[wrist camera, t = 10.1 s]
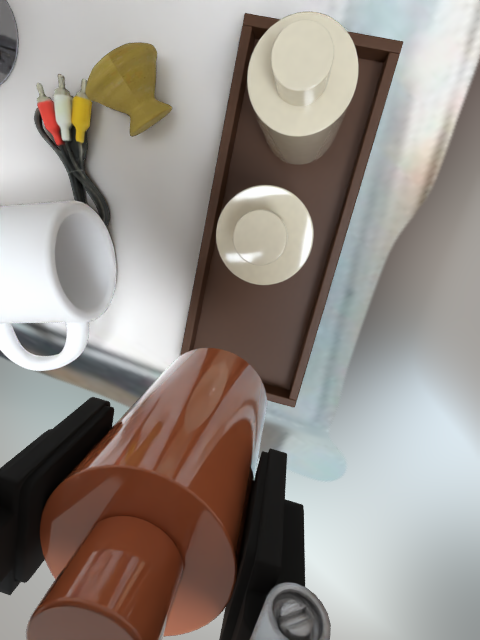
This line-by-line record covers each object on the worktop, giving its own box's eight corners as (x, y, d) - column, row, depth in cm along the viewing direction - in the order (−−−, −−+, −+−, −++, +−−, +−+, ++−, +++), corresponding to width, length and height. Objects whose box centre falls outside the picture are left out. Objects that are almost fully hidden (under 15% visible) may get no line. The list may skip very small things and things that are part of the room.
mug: (-12, 207, 28) (-121, 213, 21) (106, 199, 27) (33, 201, 19) (27, 348, 32) (-54, 395, 25) (132, 348, 31) (80, 398, 23)
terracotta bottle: (151, 351, 16) (-71, 539, 6) (260, 343, 15) (194, 547, 5) (170, 448, 17) (4, 735, 7) (272, 446, 16) (235, 767, 7)
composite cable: (116, 228, 28) (99, 228, 26) (59, 230, 29) (38, 231, 26) (99, 83, 25) (79, 69, 23) (38, 90, 26) (12, 76, 24)
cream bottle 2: (262, 183, 25) (240, 157, 15) (322, 220, 25) (338, 217, 15) (228, 245, 26) (187, 257, 17) (285, 280, 26) (277, 311, 17)
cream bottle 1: (288, 67, 23) (281, -47, 13) (354, 107, 23) (394, 21, 13) (249, 141, 24) (218, 85, 15) (311, 178, 24) (320, 147, 15)
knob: (99, 93, 26) (54, 62, 21) (159, 47, 24) (125, 3, 20) (135, 155, 26) (99, 139, 22) (194, 113, 25) (169, 87, 20)
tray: (249, 32, 23) (244, 12, 21) (393, 59, 23) (403, 41, 20) (185, 364, 30) (176, 375, 28) (294, 394, 29) (294, 407, 27)
